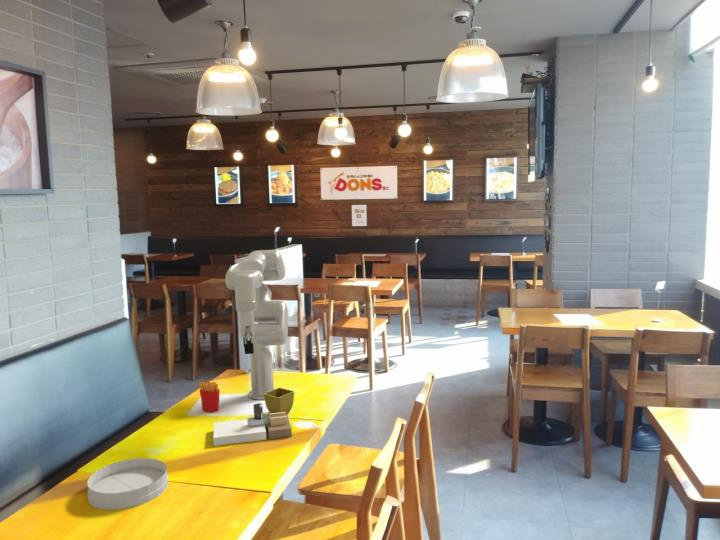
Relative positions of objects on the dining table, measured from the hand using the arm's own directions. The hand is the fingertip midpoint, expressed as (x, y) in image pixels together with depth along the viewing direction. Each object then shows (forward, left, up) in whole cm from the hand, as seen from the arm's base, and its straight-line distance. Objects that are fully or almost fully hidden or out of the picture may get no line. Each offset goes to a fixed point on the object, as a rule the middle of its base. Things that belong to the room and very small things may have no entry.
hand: (248, 350), depth 216 cm
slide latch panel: (+13, -1, -28) cm, 31 cm away
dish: (+44, -38, -28) cm, 65 cm away
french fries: (-16, -16, -28) cm, 36 cm away
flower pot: (-3, +11, -28) cm, 30 cm away
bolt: (+13, +4, -25) cm, 28 cm away
